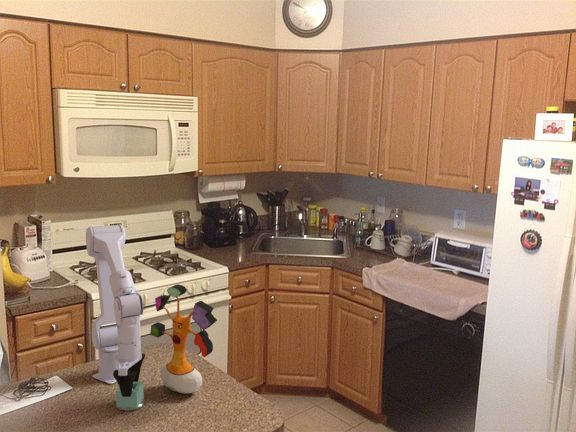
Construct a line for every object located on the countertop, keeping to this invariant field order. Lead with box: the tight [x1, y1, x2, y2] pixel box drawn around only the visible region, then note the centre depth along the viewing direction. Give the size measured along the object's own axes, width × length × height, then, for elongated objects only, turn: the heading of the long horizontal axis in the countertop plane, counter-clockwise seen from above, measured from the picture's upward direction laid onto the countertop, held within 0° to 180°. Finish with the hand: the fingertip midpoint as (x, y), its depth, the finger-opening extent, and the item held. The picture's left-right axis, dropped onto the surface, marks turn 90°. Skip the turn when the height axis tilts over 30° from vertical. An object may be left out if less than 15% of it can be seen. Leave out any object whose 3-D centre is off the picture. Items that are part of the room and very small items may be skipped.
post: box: [116, 387, 146, 413], centre depth 144 cm, size 7×7×4 cm
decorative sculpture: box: [149, 284, 218, 394], centre depth 150 cm, size 20×8×30 cm, turn 65°
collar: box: [115, 381, 145, 408], centre depth 144 cm, size 5×5×4 cm
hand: (130, 388), depth 144 cm, fingers open, 7 cm apart
